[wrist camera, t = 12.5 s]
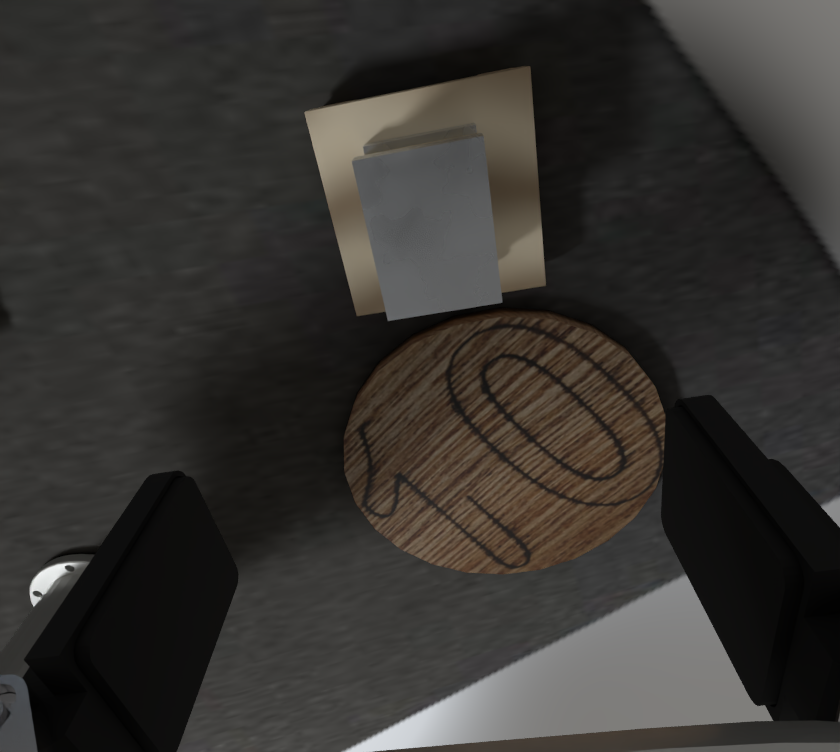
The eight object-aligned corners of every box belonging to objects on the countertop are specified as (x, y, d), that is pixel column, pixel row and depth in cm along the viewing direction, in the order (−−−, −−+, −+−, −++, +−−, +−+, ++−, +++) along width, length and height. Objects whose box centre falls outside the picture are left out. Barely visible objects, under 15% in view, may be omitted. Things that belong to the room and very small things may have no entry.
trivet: (501, 595, 53) (503, 612, 52) (285, 459, 45) (279, 474, 44) (724, 437, 44) (736, 452, 42) (499, 231, 36) (502, 239, 34)
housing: (474, 122, 30) (483, 135, 24) (491, 264, 33) (502, 302, 28) (365, 143, 30) (351, 161, 25) (394, 280, 34) (388, 321, 29)
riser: (537, 269, 37) (545, 285, 34) (362, 298, 38) (356, 316, 35) (521, 65, 31) (530, 66, 28) (314, 107, 32) (304, 111, 29)
